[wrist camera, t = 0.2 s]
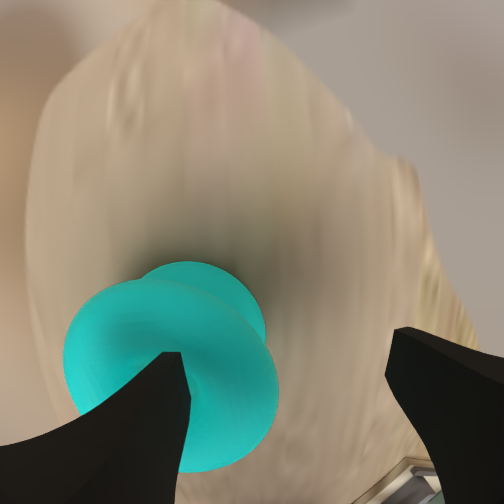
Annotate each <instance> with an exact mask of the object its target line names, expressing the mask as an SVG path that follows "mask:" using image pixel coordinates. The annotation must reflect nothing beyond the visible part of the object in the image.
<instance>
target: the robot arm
mask: <svg viewBox="0 0 504 504" xmlns="http://www.w3.org/2000/svg"><path fill="white" fill-rule="evenodd" d="M385 377H386V380H387V382H388V384H389V387H390V389H391V391H392V393H393V395H394V397H395V399H396V400H397V402H398V403H399V405H400V407H401V408H402V410H403V411H404V413H405V414H406V416H407V417H408V419H409V420H410V422H411V424H412V425H413V427H414V428H415V430H416V431H417V433H418V434H419V436H420V438H421V439H422V441H423V443H424V445H425V447H426V449H427V451H428V453H429V456H430V458H431V460H432V463H433V465H434V468H435V471H436V474H437V476H438V479H439V482H440V486H441V489H442V493H443V497H444V501H445V504H504V358H502V357H498V356H493V355H489V354H486V353H482V352H479V351H476V350H473V349H470V348H467V347H464V346H461V345H458V344H456V343H453V342H450V341H448V340H445V339H443V338H440V337H438V336H435V335H432V334H430V333H427V332H424V331H421V330H419V329H415V328H412V327H404V328H399V329H394V334H393V339H392V344H391V349H390V354H389V358H388V363H387V367H386V371H385ZM190 410H191V394H190V390H189V386H188V382H187V378H186V373H185V369H184V365H183V360H182V356H181V352H162V353H160V354H159V355H158V356H157V357H156V358H155V359H154V360H152V361H151V362H150V363H149V364H148V365H147V366H146V367H145V368H144V369H142V370H141V371H140V372H139V373H138V374H137V375H136V376H135V377H133V378H132V379H131V380H130V381H129V382H128V383H126V384H125V385H124V386H123V387H122V388H120V389H119V390H118V391H116V392H115V393H114V394H113V395H111V396H110V397H109V398H107V399H106V400H105V401H103V402H102V403H101V404H99V405H98V406H96V407H95V408H93V409H92V410H90V411H89V412H87V413H85V414H84V415H82V416H80V417H79V418H77V419H75V420H73V421H71V422H69V423H67V424H65V425H63V426H61V427H59V428H57V429H54V430H52V431H50V432H48V433H45V434H43V435H40V436H37V437H34V438H32V439H28V440H25V441H21V442H18V443H14V444H10V445H4V446H0V504H174V502H175V489H176V481H177V475H178V471H179V466H180V462H181V457H182V453H183V449H184V444H185V440H186V435H187V431H188V426H189V420H190Z"/></svg>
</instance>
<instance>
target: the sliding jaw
mask: <svg viewBox="0 0 504 504" xmlns="http://www.w3.org/2000/svg"><path fill="white" fill-rule="evenodd" d="M428 504H445V501H444V497H443V493H442V491H441V492H440V493H438V494H437V495H436V496H435V497H434V498H433V499H432V500H431V501H429V502H428Z"/></svg>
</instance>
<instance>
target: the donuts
mask: <svg viewBox="0 0 504 504" xmlns="http://www.w3.org/2000/svg"><path fill="white" fill-rule="evenodd" d="M265 344H266V329H265V323H264V319H263V316H262V313H261V310H260V308H259V306H258V304H257V302H256V300H255V298H254V297H253V295H252V294H251V293H250V291H249V290H248V289H247V288H246V287H245V286H244V285H243V284H242V283H241V282H240V281H239V280H238V279H236V278H235V277H234V276H232V275H231V274H229V273H228V272H226V271H224V270H222V269H220V268H218V267H215V266H212V265H209V264H205V263H201V262H193V261H181V262H174V263H169V264H166V265H163V266H160V267H158V268H156V269H154V270H152V271H150V272H149V273H147V274H146V275H144V276H143V277H142V278H141V279H136V280H130V281H125V282H122V283H119V284H116V285H113V286H111V287H109V288H106V289H104V290H103V291H101V292H99V293H98V294H96V295H95V296H93V297H92V298H91V299H90V300H88V301H87V302H86V303H85V304H84V305H83V307H82V308H81V309H80V310H79V312H78V313H77V314H76V316H75V317H74V319H73V321H72V322H71V325H70V327H69V329H68V332H67V335H66V339H65V344H64V351H63V367H64V374H65V379H66V383H67V386H68V389H69V392H70V394H71V397H72V399H73V401H74V403H75V405H76V407H77V409H78V411H79V412H80V414H81V416H82V415H84V414H85V413H87V412H89V411H90V410H92V409H93V408H95V407H96V406H98V405H99V404H101V403H102V402H103V401H105V400H106V399H107V398H109V397H110V396H111V395H113V394H114V393H115V392H116V391H118V390H119V389H120V388H122V387H123V386H124V385H125V384H126V383H128V382H129V381H130V380H131V379H132V378H133V377H135V376H136V375H137V374H138V373H139V372H140V371H141V370H142V369H144V368H145V367H146V366H147V365H148V364H149V363H150V362H151V361H152V360H154V359H155V358H156V357H157V356H158V355H159V354H160V353H162V352H181V356H182V360H183V365H184V369H185V373H186V378H187V382H188V386H189V390H190V394H191V410H190V420H189V426H188V431H187V435H186V440H185V444H184V449H183V453H182V457H181V462H180V466H179V471H178V472H184V473H192V472H204V471H210V470H214V469H218V468H221V467H224V466H227V465H230V464H232V463H234V462H236V461H238V460H240V459H241V458H243V457H245V456H246V455H247V454H249V453H250V452H251V451H252V450H253V449H254V448H255V447H257V446H258V444H259V443H260V442H261V441H262V440H263V439H264V437H265V436H266V434H267V433H268V431H269V429H270V428H271V426H272V423H273V421H274V418H275V414H276V411H277V406H278V399H279V386H278V379H277V373H276V369H275V366H274V363H273V360H272V357H271V355H270V353H269V351H268V349H267V347H266V345H265Z"/></svg>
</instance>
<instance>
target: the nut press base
mask: <svg viewBox="0 0 504 504" xmlns="http://www.w3.org/2000/svg"><path fill="white" fill-rule="evenodd" d="M441 491H442V489H441V486H440V482H439V479H438V476H437V474H436V471H435V468H434V465H433V463H432V461H425V460H418V459H411V458H404V459H403V460H402V461H401V462H400V463H399V464H398V465H397V466H396V467H395V468H394V469H393V470H392V471H391V472H390V473H389V474H388V475H387V476H385V477H384V478H383V479H382V480H381V481H380V482H379V483H377V484H376V485H375V486H374V487H373V488H371V489H370V490H369V491H368V492H367V493H365V494H364V495H363V496H362V497H360V498H359V499H358V500H356V501H355V502H354V503H352V504H426V503H427V502H429V501H431V500H432V499H433V498H434V497H435V496H436V495H437V494H438V493H440V492H441Z"/></svg>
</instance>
